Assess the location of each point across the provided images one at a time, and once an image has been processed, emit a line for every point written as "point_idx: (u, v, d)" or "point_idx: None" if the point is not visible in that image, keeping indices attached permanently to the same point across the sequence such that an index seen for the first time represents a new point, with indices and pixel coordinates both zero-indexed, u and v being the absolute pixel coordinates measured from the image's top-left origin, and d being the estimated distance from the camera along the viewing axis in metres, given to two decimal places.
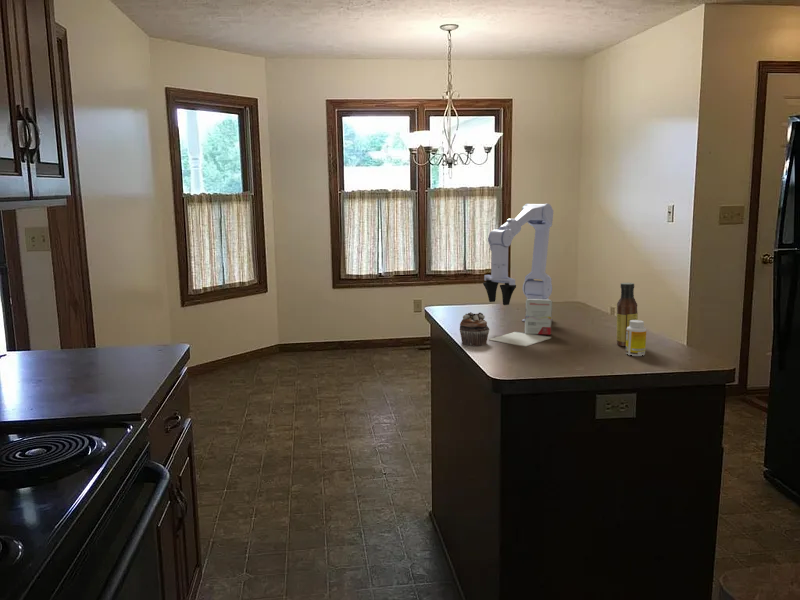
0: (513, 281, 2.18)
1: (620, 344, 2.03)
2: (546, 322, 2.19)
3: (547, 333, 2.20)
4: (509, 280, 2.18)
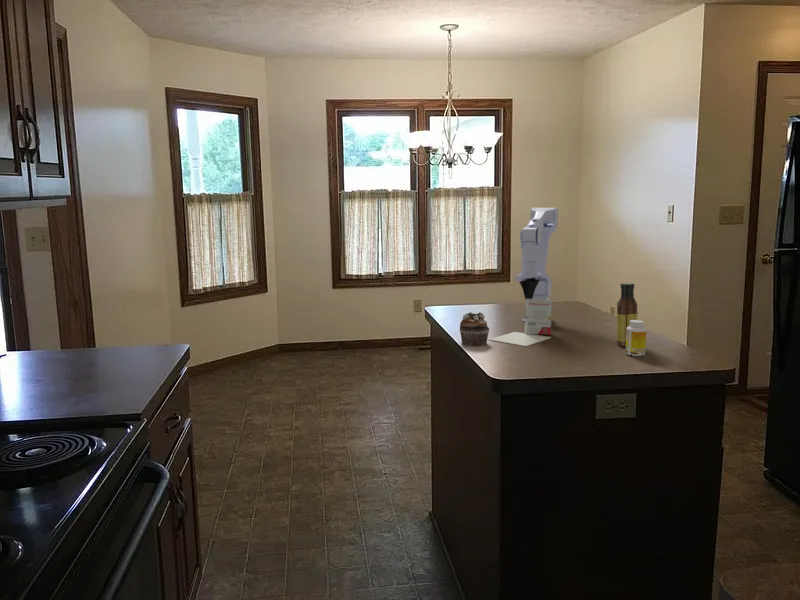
0: (518, 277, 2.23)
1: (620, 344, 2.03)
2: (546, 322, 2.19)
3: (547, 333, 2.20)
4: None
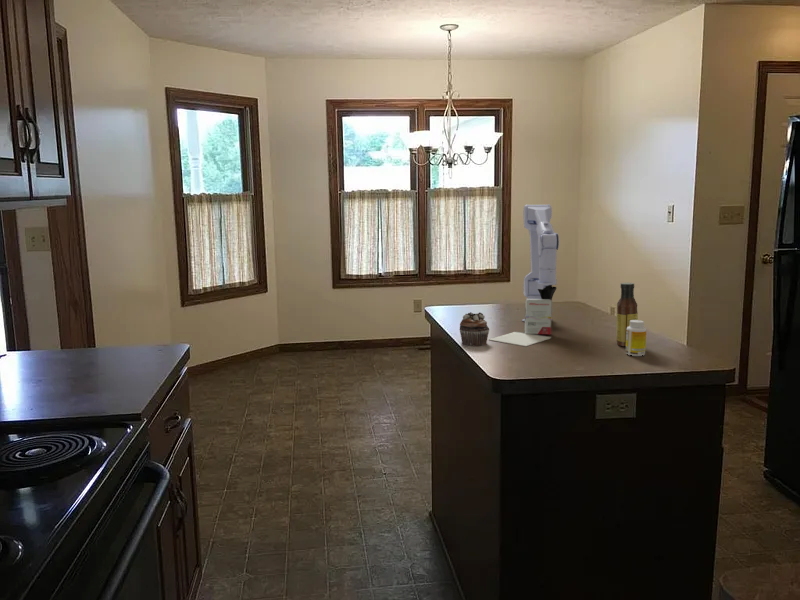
0: (540, 285, 2.18)
1: (620, 344, 2.03)
2: (546, 322, 2.19)
3: (547, 333, 2.20)
4: None
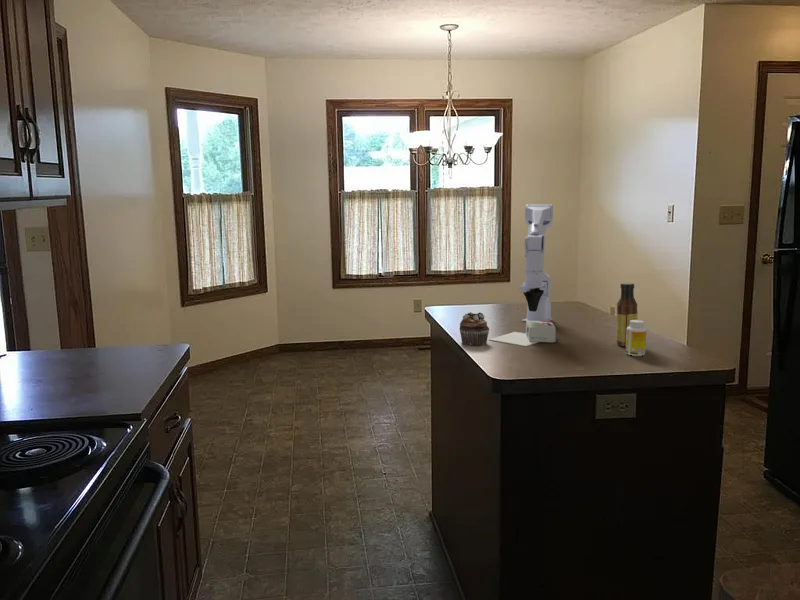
0: (522, 288, 2.12)
1: (620, 344, 2.03)
2: None
3: None
4: None
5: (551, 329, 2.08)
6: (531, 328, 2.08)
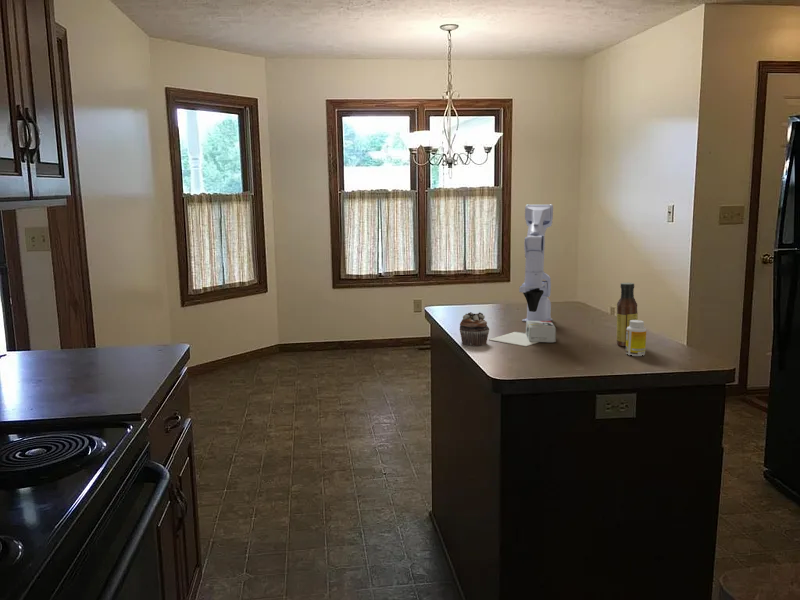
0: (522, 288, 2.12)
1: (620, 344, 2.03)
2: None
3: None
4: None
5: (551, 329, 2.08)
6: (531, 328, 2.08)
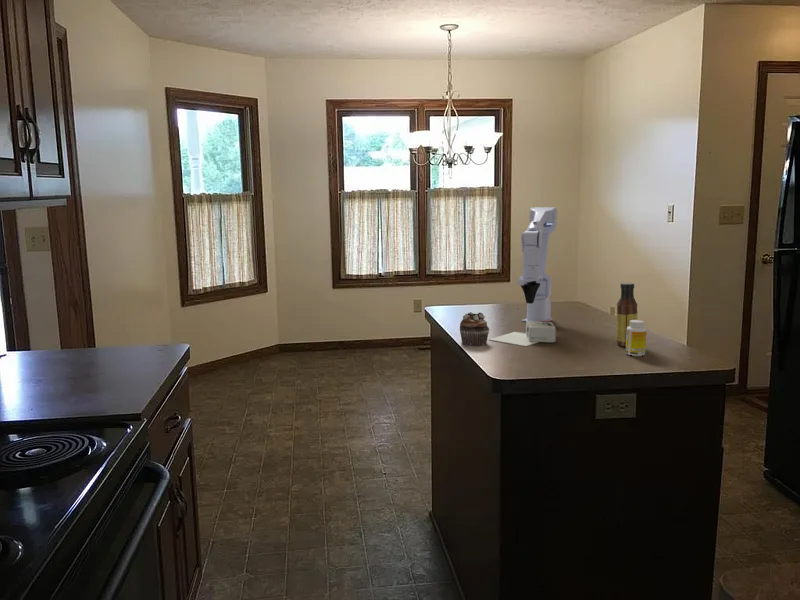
0: (520, 281, 2.23)
1: (620, 344, 2.03)
2: None
3: None
4: None
5: (551, 329, 2.08)
6: (531, 328, 2.08)
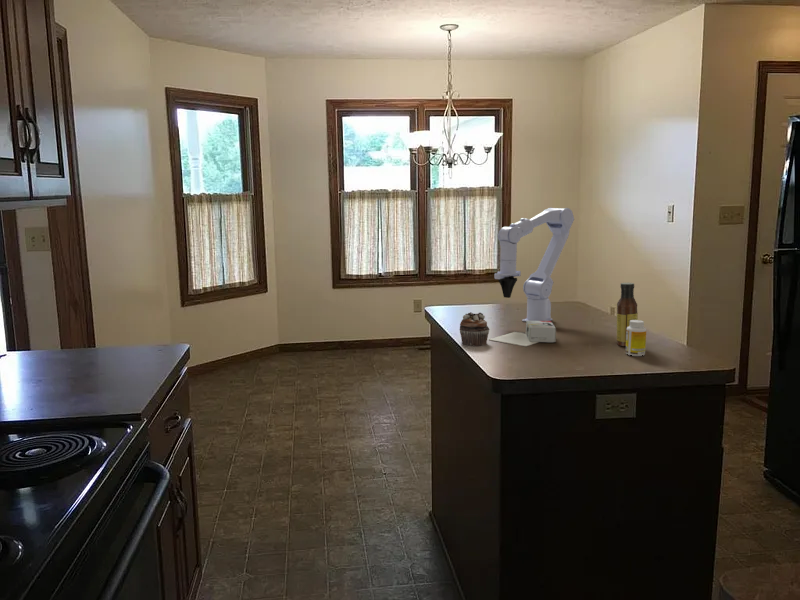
0: (497, 275, 2.29)
1: (620, 344, 2.03)
2: None
3: None
4: None
5: (551, 329, 2.08)
6: (531, 328, 2.08)
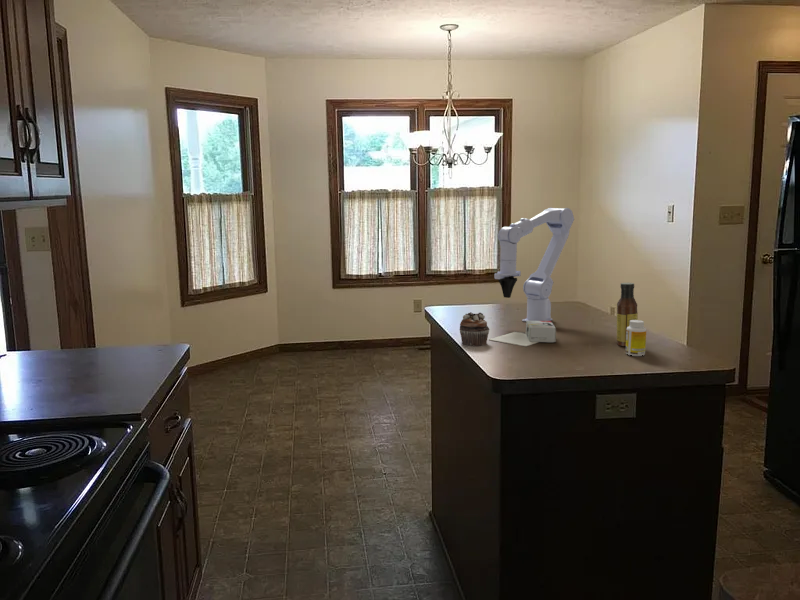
0: (497, 275, 2.29)
1: (620, 344, 2.03)
2: None
3: None
4: None
5: (551, 329, 2.08)
6: (531, 328, 2.08)
